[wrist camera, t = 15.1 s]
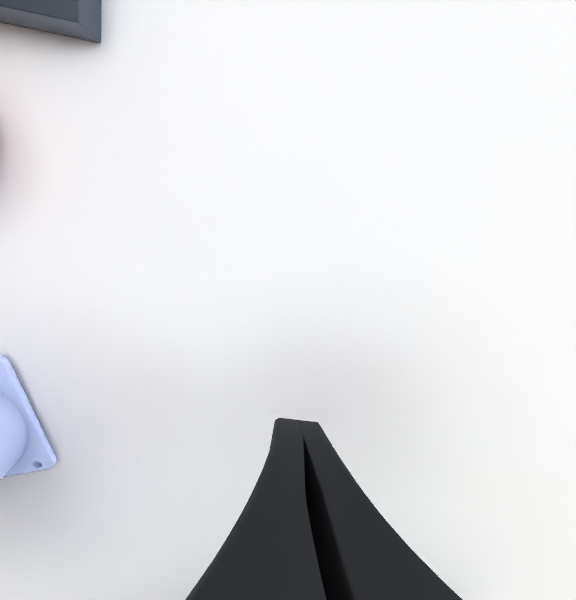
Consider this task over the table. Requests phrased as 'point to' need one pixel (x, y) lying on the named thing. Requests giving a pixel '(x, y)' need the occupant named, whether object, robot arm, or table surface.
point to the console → (55, 16)
